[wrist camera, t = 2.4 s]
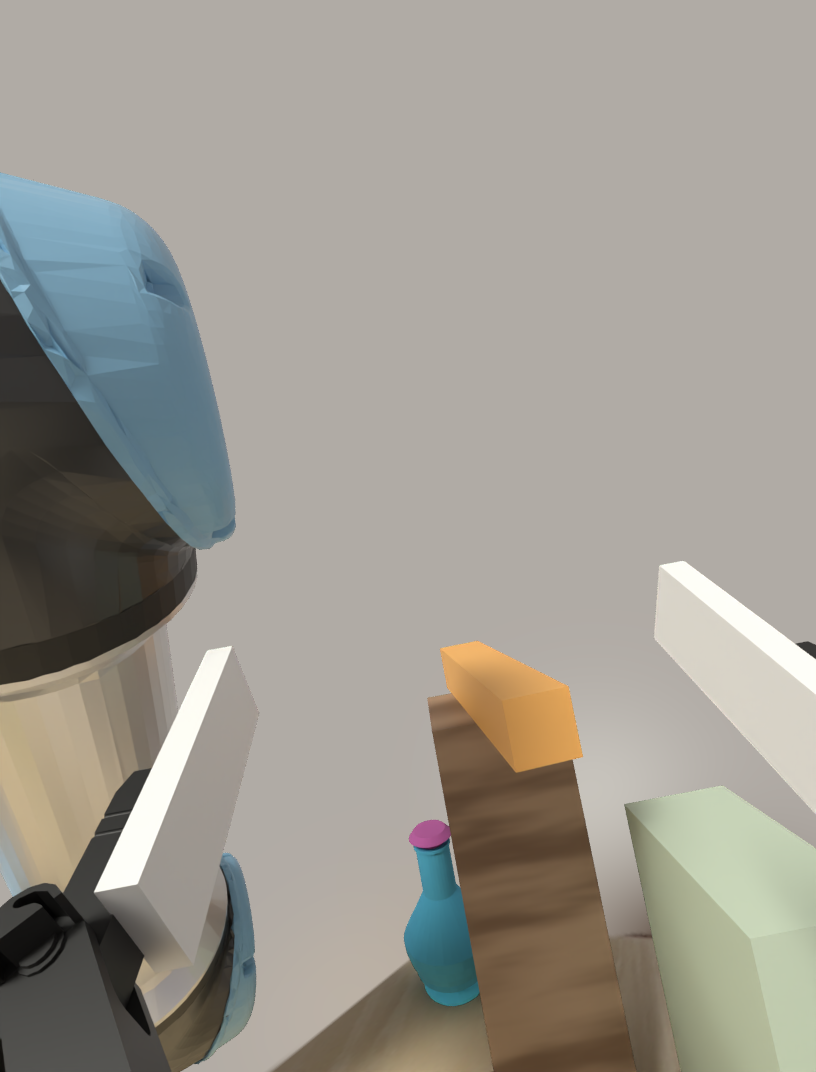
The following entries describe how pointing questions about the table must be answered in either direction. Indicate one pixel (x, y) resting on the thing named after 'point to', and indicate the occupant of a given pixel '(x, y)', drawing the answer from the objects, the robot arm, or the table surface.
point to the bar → (513, 705)
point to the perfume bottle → (440, 922)
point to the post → (530, 906)
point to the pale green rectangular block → (730, 930)
